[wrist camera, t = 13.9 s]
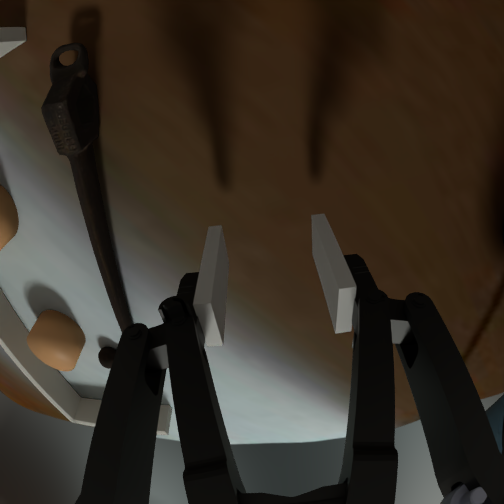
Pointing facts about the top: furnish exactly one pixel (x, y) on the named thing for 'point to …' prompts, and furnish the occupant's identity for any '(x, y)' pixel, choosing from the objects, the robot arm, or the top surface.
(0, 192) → the puck
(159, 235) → the top surface
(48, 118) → the black hooked stick
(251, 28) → the top surface
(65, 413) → the chip tray
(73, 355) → the puck
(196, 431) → the robot arm
